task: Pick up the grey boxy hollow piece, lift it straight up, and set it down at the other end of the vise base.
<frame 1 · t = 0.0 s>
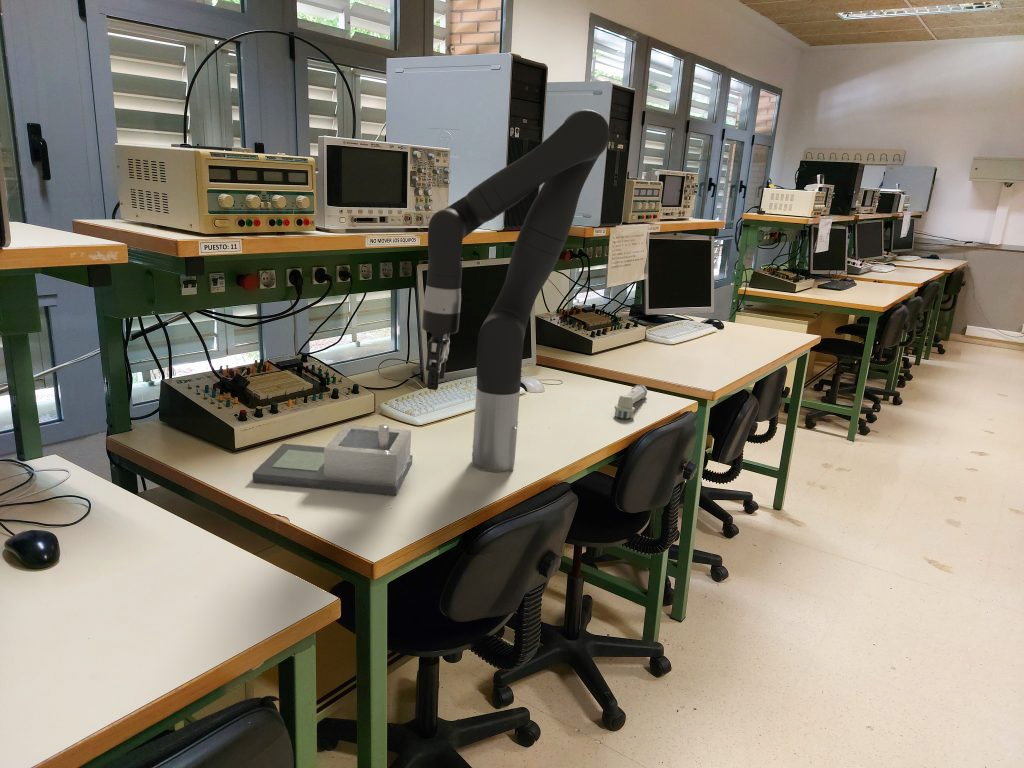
hand: (435, 383, 151), 17 cm above the table, tool pointing down, fingers open, 8 cm apart
vise base: (336, 472, 145), on the table
toothbrush head: (631, 408, 202), on the table
grey boxy hollow piece: (369, 466, 144), point 2 cm above the table, touching vise base
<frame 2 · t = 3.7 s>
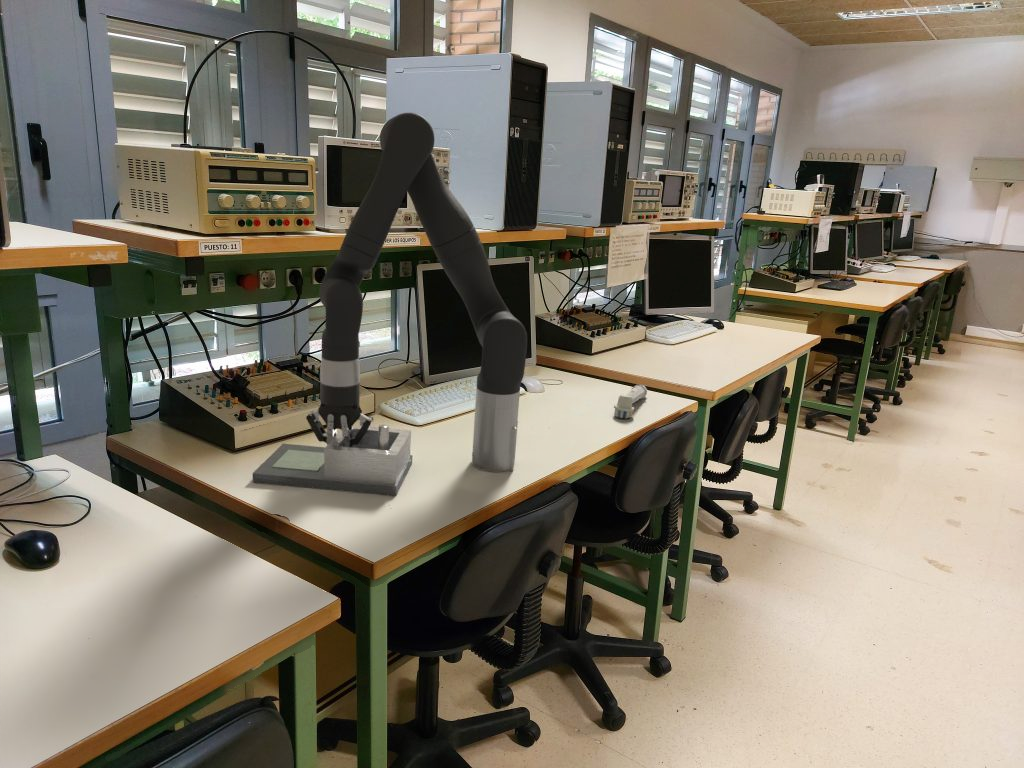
hand: (339, 461, 144), 3 cm above the table, tool pointing down, fingers closed on grey boxy hollow piece
grey boxy hollow piece: (369, 466, 144), point 2 cm above the table, touching gripper
everything else where it was.
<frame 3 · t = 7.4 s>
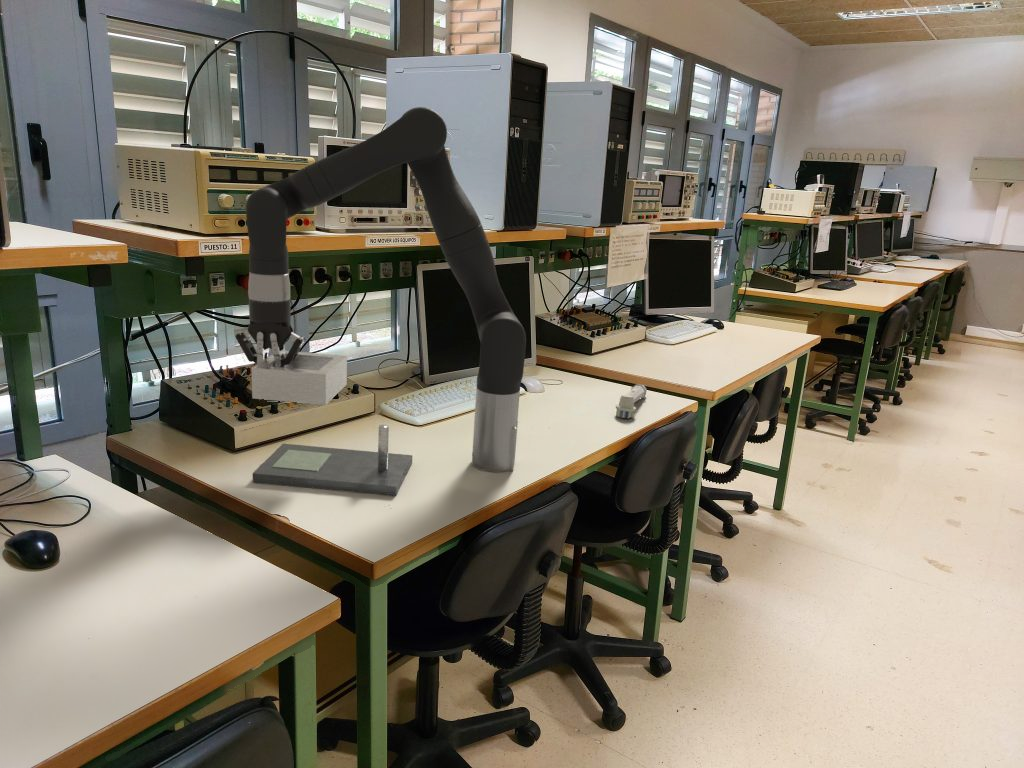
hand: (271, 383, 141), 18 cm above the table, tool pointing down, fingers closed on grey boxy hollow piece
grey boxy hollow piece: (301, 390, 141), point 17 cm above the table, touching gripper
everything else where it was.
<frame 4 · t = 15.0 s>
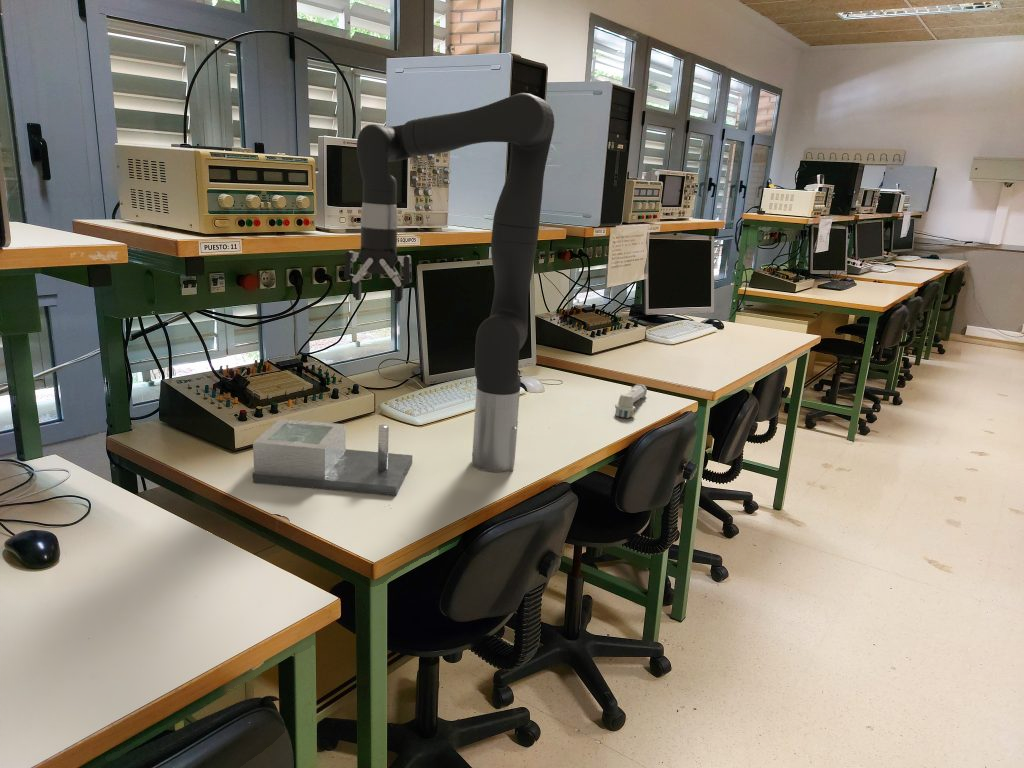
hand: (377, 301, 155), 32 cm above the table, tool pointing down, fingers open, 8 cm apart
grey boxy hollow piece: (301, 460, 145), point 2 cm above the table, touching vise base
everything else where it was.
at the end: grey boxy hollow piece 0.1 cm from the target spot on the vise base, point 2.0 cm above the vise base's base; grey boxy hollow piece tilted 0°; the gripper is holding nothing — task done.
